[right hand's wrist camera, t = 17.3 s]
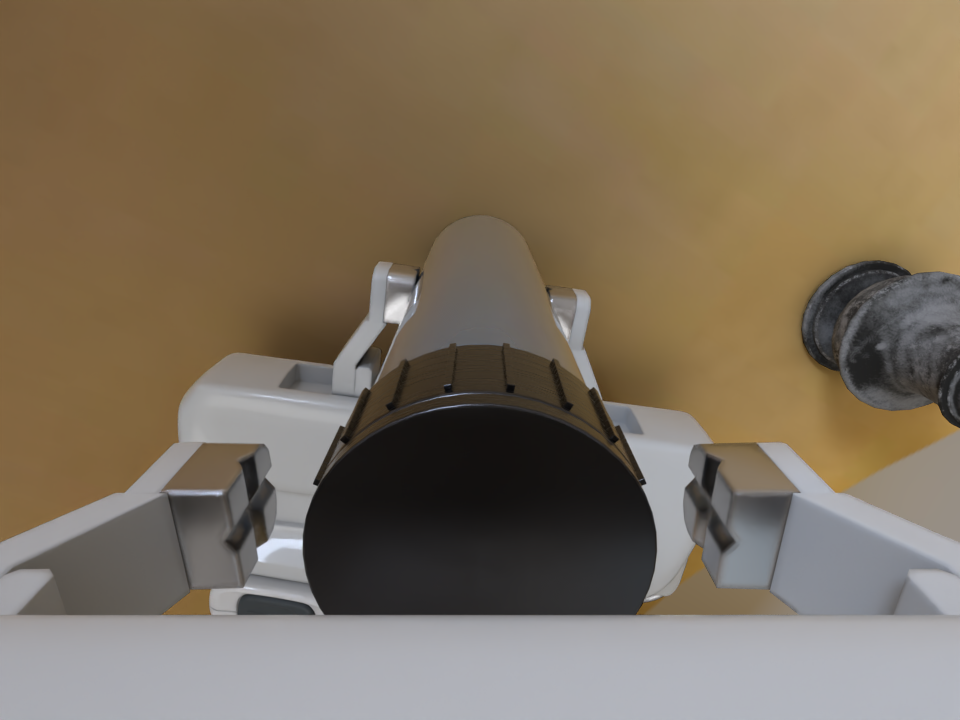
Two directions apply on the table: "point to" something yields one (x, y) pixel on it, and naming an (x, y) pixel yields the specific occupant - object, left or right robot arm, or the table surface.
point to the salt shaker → (890, 335)
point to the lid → (479, 495)
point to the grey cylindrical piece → (480, 298)
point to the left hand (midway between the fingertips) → (482, 278)
